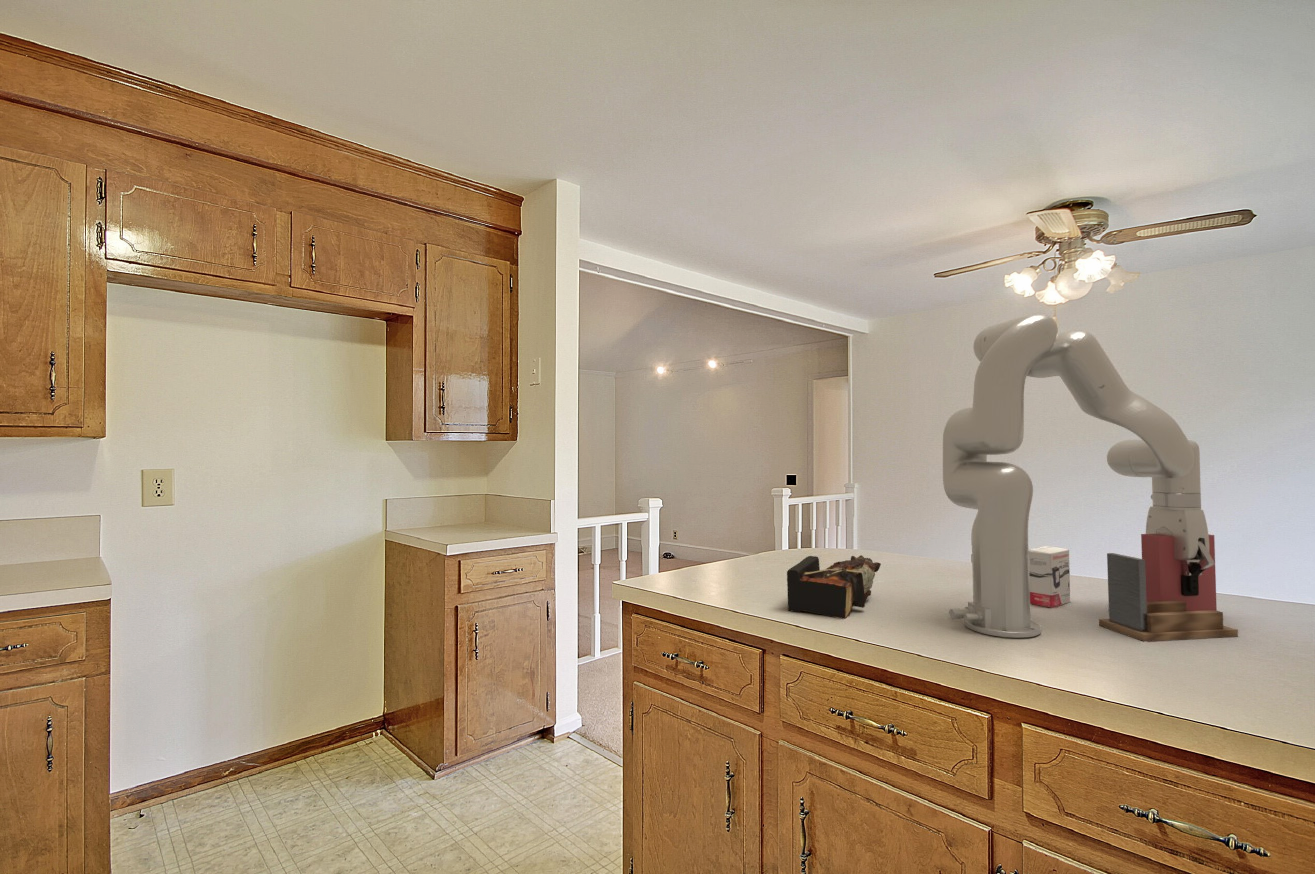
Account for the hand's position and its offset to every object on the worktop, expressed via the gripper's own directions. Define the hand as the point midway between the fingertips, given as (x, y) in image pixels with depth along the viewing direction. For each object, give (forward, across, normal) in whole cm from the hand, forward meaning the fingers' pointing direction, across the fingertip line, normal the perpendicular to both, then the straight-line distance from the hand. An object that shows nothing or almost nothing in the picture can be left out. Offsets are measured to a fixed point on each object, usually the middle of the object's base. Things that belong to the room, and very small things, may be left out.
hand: (1179, 591), depth 125 cm
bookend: (+5, -21, -62) cm, 66 cm away
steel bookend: (+5, +9, -19) cm, 22 cm away
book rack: (+5, +9, -12) cm, 16 cm away
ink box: (+5, -13, -18) cm, 23 cm away
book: (+5, 0, 0) cm, 5 cm away
